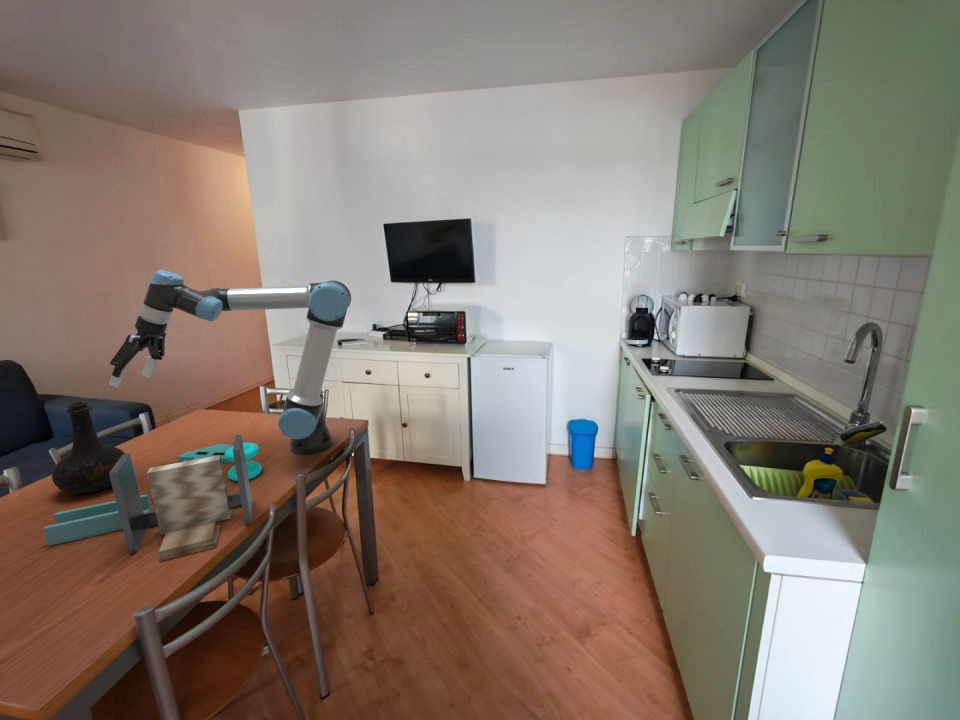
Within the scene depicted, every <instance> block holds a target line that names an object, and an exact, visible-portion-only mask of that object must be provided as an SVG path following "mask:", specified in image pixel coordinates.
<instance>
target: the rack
mask: <svg viewBox="0 0 960 720" xmlns="http://www.w3.org/2000/svg"><path fill="white" fill-rule="evenodd" d="M233 441H234V442H233V446H234V447H233V455H234V461H235V462H234V465H235V467H236V473H237V479H238V481H237V484H238V489H239V491H238V492H234V493H233V492H232V493H229V494H228V493H227V494H228V500H229V506H230V509H233V508H237V507H241V508H242V513H243V520H244V525H245V526H246V525H251V524H252V522H253V521H252V520H253V519H252V518H253V503H254V501H253V495H252V490H251V485H250V479H249V478H248V472H247V465H246V461H247V460H246V459H245V453H244V447H243V443H244V441H243V434H236V435H235V436H234V440H233ZM133 465H134V464H133V461H132V456H131V453H130V452H129V453H125V454H123V455H122V456H121V457H120V459H119V460H118V461H117V463H116V464H115V466H114V467H113V468H112V470H111V471H110V473H109V476H110V480H111V484H112V486H111V487H112V493H113V495H114V499H115V500H114V501H116V504H117V508H118V512H119V516H120V520H121V524H122V528H123V529H122V530H123V531H122V532H123V535H124V539H125V544H126V547H127V552H128V554H133V553H137V552H138V550H139V547H140V545H141V542H142V540H143V537H144V536H145V534H146V531H147V529H148V528H151V527H155V526H159V525H158V521H157V516H156V512H155V509H154V510H151V511H150V512H145V513H144V512H143V507H142V503H141V499H140V496H141V495H140V491H139V486H138V482H137V479H136V474H135V470H134V466H133Z"/></svg>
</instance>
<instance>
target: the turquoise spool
mask: <svg viewBox="0 0 960 720" xmlns="http://www.w3.org/2000/svg"><path fill="white" fill-rule="evenodd" d="M233 447H234V445H233V446H232V447H230V448H228V449H227V450H226V452H225V458H226V459H227V460H229V461H232V463H235V461H234V455H233ZM243 447H244V453H245V459H246V465H247V472H248V478H249V480H251V479H254V478H256V477H257V476H259V475H260V474H261V472H262V471H263V466H262V465H261V463H260V462H257V461H255V460H250V459H253V458H254V457H256V456H257V455H258V453H259V451H260V447H259V445H258V444H257V443H254V442H243ZM227 477H228V478H229V479H230V480H232V481H234V482H238V479H237V473H236V467H235V464H234V465H233V466H232V467H230V469H229V470H228V472H227Z"/></svg>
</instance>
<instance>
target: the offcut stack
mask: <svg viewBox="0 0 960 720" xmlns="http://www.w3.org/2000/svg"><path fill="white" fill-rule="evenodd" d="M220 533H221V524H216V522H213V523H208V524H204V525H200V526H196V527H192V528H187V529H183V530H179V531H175V532H171V533H166V534H164V537H163V540H162V541H161V545H160V547H159V551H158V555H159V556H158V561H160V562H164V561H167V560H166V559H168V560H171V558H172V559H175V557H176V558H179V556H180V557H184V556H187V554H188V555H191V553H192V554H194V553H195V552H196V553H199V552H203V551H208V550H211V549H214V548H218V544H219V538H220ZM196 553H195V554H196ZM163 560H164V561H163Z"/></svg>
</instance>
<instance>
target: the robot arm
mask: <svg viewBox="0 0 960 720" xmlns="http://www.w3.org/2000/svg"><path fill="white" fill-rule="evenodd" d="M184 281H185V280H184V278H183V276H182V275H179V274H178V273H175V272H172V271H168V270H165V269H159V270H155V272H154V274H153V276H152V278H151V280H150V282H149V285H148V288H147V292H146V295H145V297H144V300H143V303H142V304H141V309H140V311H139V315H138V317H137V319H136V322H135V324H134V328H135V329H136V330H137V333H136V334H135V335H133V334H128V335H127V336H126V339H125V340H124V342H123V344H122V345H121V346H120V348H119V349H118V350H117V352H116V354H114V356H113V358H112V359H111V360H110V362H109V364H110V365H111V366H114V368H113V371H112V374H111V376H110V379H109V382H108V385H109V386H112V387H114V388H117V389H119V388H120V387H121V385H122V383H123V380H124V376H125V375H126V372H127V370H128V369H127V365H128V364H129V363H130V362H131V361H132V360H133V359H134V358H135V357H136V356H137V355H138V353H139V352H142V351H144V349H146V348H147V349H148V354H149V356H147V359H146V361H145V365H144V367H143V369H142V372H141V374H140V375H142V376H143V377H146V378H148V379H150V378H152V376H153V373H154V371H155V368H156V365H157V364H158V363H157V362H158V360H159V361H162V360H163V357H165V354H166V353H165V350H166V349H165V344H166V343H165V342H166V340H165V339H166V336H167V333H166V330H167V327H168V323H169V322H170V319H171V317H172V314H173V311H174V309H176V310H178V311H182V312H184V313H186V314H189V315H191V316H194V317H197V318H198V319H200V320H204V321H208V322H214V321H216V320H217V319H218V318H219V317H220V315H221V313H222V312H230V311H231V312H232V311H253V310H254V311H255V310H258V311H259V310H261V311H262V310H283V309H284V310H285V309H286V310H287V309H288V310H291V309H307V310H308V311H307V313H306V320H307V321H308V323H309V327H308V331H307V335H306V337H305V343H304V346H303V349H302V350H303V352H302V355H301V358H300V362H299V367H298V371H297V374H296V378H295V382H294V386H293V389H290V390H289V391H288V393H287V395H286V397H285V398H286V399H285V402H284V405H283V410H282V413H280V415H279V417H278V428H279V430H280V432H282V433H281V434H283V435H284V436H285V437H287V438H289V439H290V441H289V447H290V451H291V452H293V453H294V454H298V455H306V454H307V455H309V454H315V453H319V452H322V451H324V450H326V449H328V448H330V447H331V446H332V445H333V436H332V433H331V431H330V429H329V427H328V426H327V424H326V415H325V414H326V413H325V403H324V394H323V390H322V388H323V385H324V380H325V377H326V373H327V368H328V364H329V361H330V358H331V355H332V354H331V353H332V350H333V346H334V343H335V338H336V334H337V332H338V330H341V329H342V328H343V327H344V323H345V319H346V316H347V311H348V308H349V307H350V305H351V302H352V295H351V291H350V289H349V288H348V287H347V285H346V284H344V283H343V282H341V281H339V280H327V281H324V282H323V281H322V282H310V283H309V284H308V285H304V286H302V285H301V286H276V287H275V286H273V287H272V286H271V287H241V288H240V287H239V288H238V287H237V288H234V287H233V288H219V287H214V288H210V289H207V290H200V291H199V290H197V289H193V288H191V287H188V286H187V285H185V283H184Z"/></svg>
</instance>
